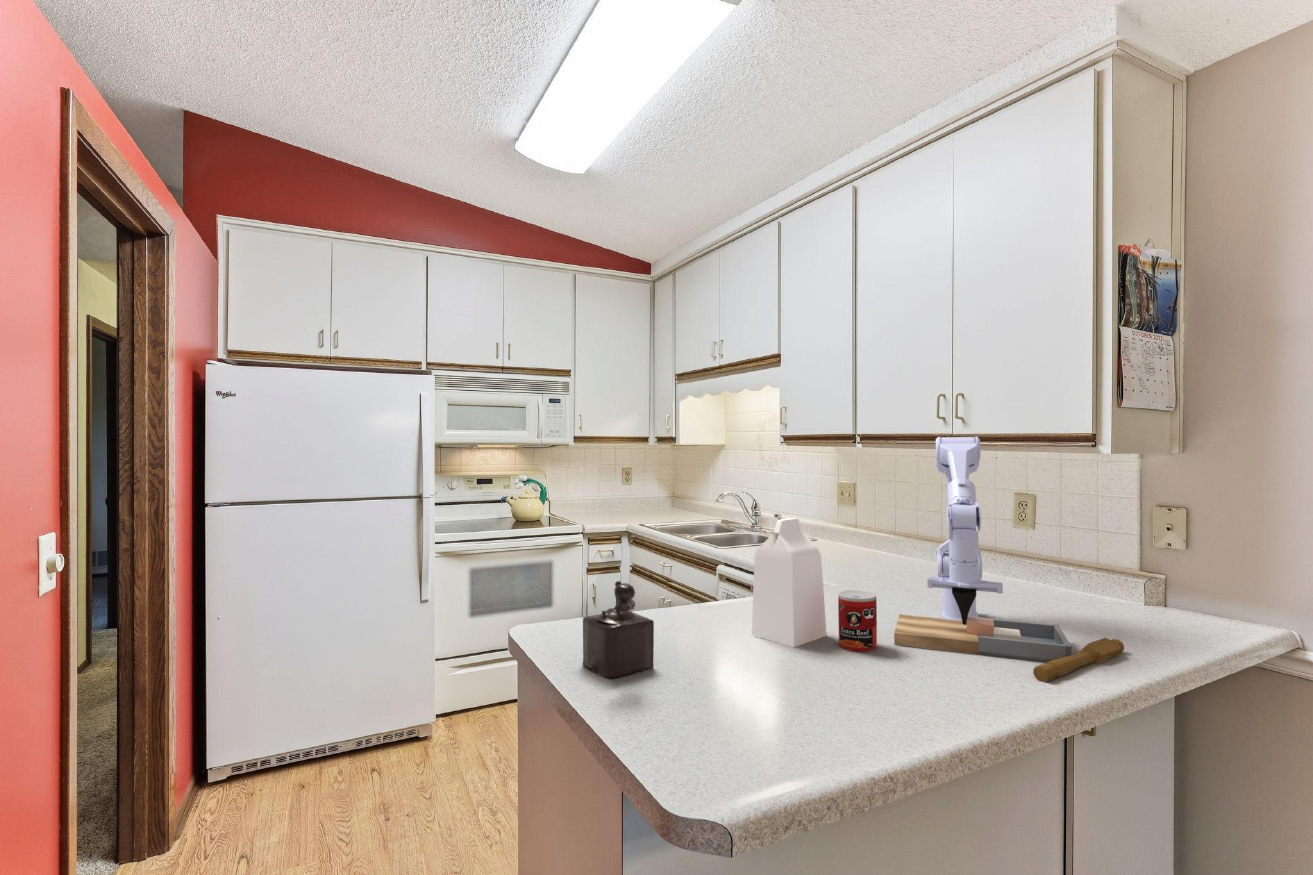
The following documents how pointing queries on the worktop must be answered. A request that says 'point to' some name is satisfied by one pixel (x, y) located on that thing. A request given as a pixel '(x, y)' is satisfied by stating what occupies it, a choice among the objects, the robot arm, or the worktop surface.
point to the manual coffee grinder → (618, 638)
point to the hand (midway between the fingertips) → (964, 623)
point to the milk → (788, 587)
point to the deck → (935, 634)
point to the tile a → (980, 626)
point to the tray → (1027, 642)
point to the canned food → (857, 620)
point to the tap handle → (1079, 659)
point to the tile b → (1007, 633)
